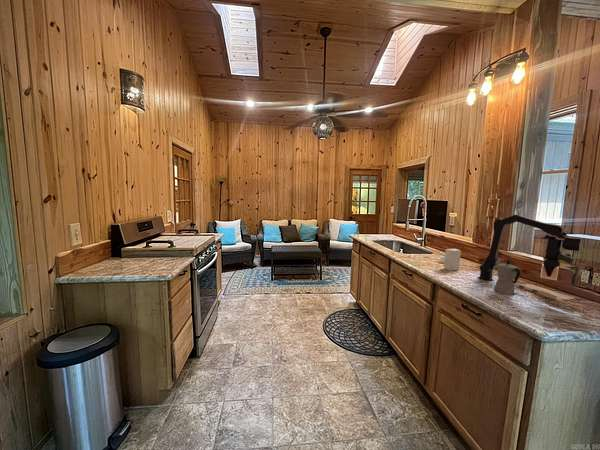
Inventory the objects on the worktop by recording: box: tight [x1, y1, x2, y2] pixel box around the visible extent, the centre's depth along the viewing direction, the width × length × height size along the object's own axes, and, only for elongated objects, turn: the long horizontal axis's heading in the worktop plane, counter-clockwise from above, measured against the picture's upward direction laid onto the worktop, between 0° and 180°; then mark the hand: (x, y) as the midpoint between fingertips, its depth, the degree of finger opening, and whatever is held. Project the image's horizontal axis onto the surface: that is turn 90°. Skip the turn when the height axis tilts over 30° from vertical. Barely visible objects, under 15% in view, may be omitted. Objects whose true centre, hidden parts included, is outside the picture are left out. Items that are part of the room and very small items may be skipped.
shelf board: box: [514, 282, 574, 301], centre depth 149 cm, size 14×22×3 cm, turn 14°
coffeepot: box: [493, 260, 521, 296], centre depth 147 cm, size 15×9×18 cm, turn 179°
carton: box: [540, 263, 560, 281], centre depth 147 cm, size 4×6×7 cm
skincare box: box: [443, 248, 462, 271], centre depth 192 cm, size 8×6×15 cm
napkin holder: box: [439, 255, 445, 264], centre depth 212 cm, size 15×11×6 cm
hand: (548, 275), depth 147 cm, fingers closed on carton, 4 cm apart
